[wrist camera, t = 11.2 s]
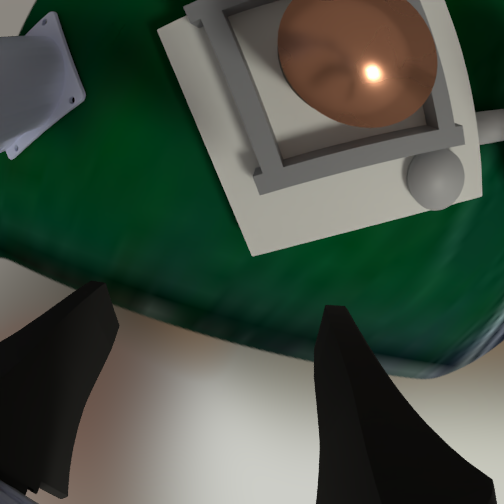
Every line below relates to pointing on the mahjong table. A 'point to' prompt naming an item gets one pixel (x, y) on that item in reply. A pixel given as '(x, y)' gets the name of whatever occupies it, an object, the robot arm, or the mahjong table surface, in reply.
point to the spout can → (358, 59)
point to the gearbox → (320, 131)
